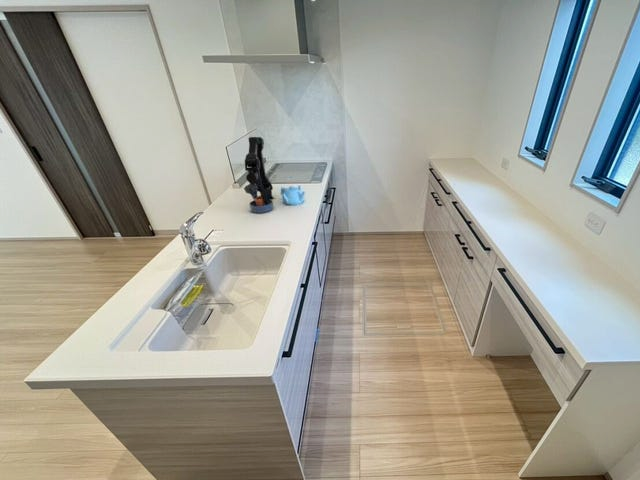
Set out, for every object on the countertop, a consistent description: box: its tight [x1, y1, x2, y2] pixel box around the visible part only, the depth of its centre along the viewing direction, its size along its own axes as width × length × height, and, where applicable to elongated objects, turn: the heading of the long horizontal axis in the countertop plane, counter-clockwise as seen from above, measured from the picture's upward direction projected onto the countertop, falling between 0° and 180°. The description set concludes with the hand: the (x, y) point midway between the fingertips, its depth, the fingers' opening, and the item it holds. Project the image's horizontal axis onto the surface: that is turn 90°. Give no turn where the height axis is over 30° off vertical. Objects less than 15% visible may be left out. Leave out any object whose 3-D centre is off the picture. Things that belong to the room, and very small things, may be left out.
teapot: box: [280, 185, 306, 206], centre depth 207 cm, size 15×15×11 cm
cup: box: [253, 195, 267, 206], centre depth 196 cm, size 6×6×8 cm
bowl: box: [248, 199, 274, 214], centre depth 197 cm, size 14×14×5 cm
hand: (260, 203), depth 196 cm, fingers open, 9 cm apart
